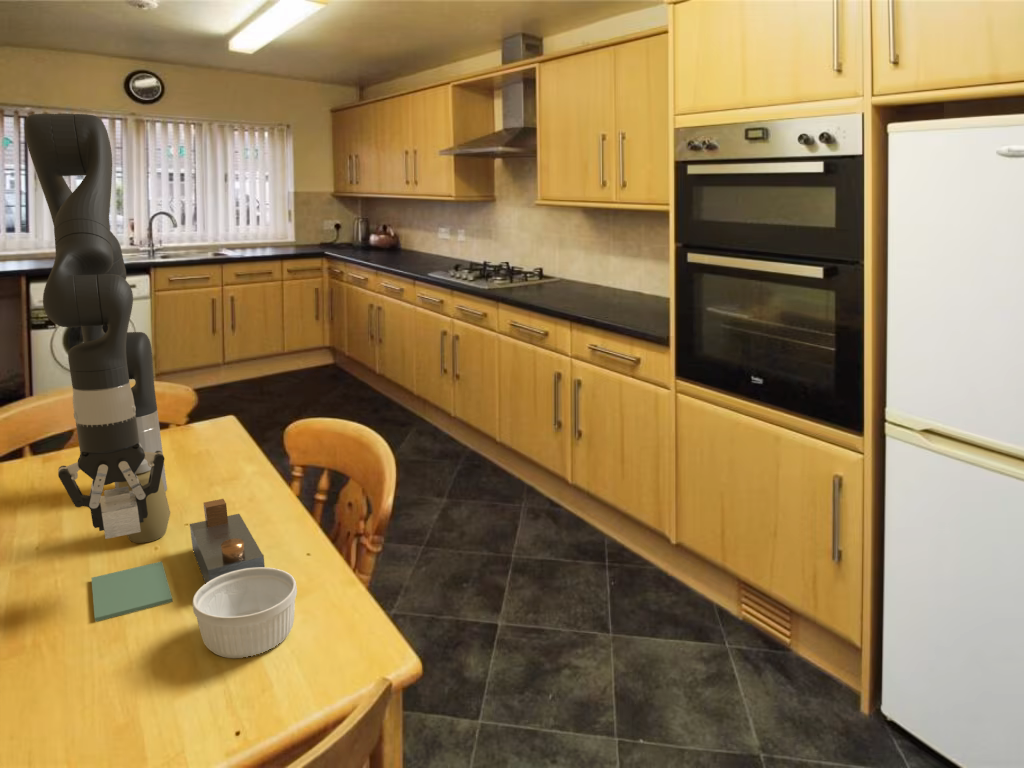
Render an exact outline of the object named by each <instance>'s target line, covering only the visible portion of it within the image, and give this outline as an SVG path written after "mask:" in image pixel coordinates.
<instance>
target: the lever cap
mask: <svg viewBox="0 0 1024 768" xmlns="http://www.w3.org/2000/svg"><path fill="white" fill-rule="evenodd" d="M103 494H104V495H101V498H100V502H99V503H101V511H102V518H103V525H104V530H103V532H104V537H105V540H108V539H113V538H117V537H121V536H127V535H128V534H133V533H137V532H141V530H140V522H139V515H138V507H137V503H136V499H135V495H134V492H133V491H129V488H128V486H127V487H121V488H111V489H110V488H109V489H106V490H104V489H103Z"/></svg>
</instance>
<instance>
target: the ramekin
mask: <svg viewBox="0 0 1024 768" xmlns="http://www.w3.org/2000/svg"><path fill="white" fill-rule="evenodd" d="M297 594H298V588H297V582H296V579H295V578H294V576H293V575H292V574H291V573H289V572H287V571H285V570H283V569H278V568H274V567H266V566H265V567H256V568H246V569H241V570H236V571H232V572H229V573H226V574H223V575H221V576H218V577H216V578H214V579H212V580H210V581H209V582H207V583H206V584H205V583H204V584H203V585H202V586H201V587H200V588H199V589H198V590H197V591H196V592H195V593H194V596H193V598H192V611H193V614H194V616H195V617H196V619H197V624H198V627H199V632H200V635H201V639H202V641H203V644H204V646H206V648H207V649H208V650H210V651H211V652H212V653H214V654H215V655H217V656H219V657H223V658H228V659H242V658H243V657H246V658H249V657H248V656H251V657H254V656H253V655H255V656H257V655H256V654H259V655H261V654H260V653H262V652H265V651H267V650H269V649H271V648H273V647H274V648H276V647H277V646H279V645H280V644H281V643H282V642H284V640H285V639H286V638H287V637H288V636H289V634H290V633H291V631H292V629H293V626H294V622H295V607H296V606H295V604H296V597H297ZM279 643H280V644H279ZM278 644H279V645H278ZM276 645H277V646H276ZM275 646H276V647H275ZM274 648H273V649H274ZM271 650H272V649H271ZM269 651H270V650H269ZM267 652H268V651H267ZM265 653H266V652H265ZM262 654H263V653H262ZM243 659H244V658H243Z"/></svg>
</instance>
